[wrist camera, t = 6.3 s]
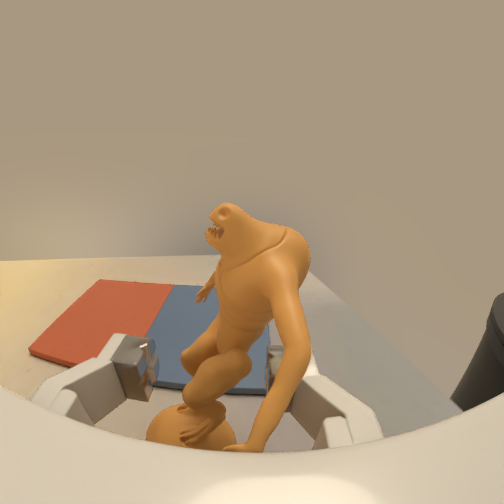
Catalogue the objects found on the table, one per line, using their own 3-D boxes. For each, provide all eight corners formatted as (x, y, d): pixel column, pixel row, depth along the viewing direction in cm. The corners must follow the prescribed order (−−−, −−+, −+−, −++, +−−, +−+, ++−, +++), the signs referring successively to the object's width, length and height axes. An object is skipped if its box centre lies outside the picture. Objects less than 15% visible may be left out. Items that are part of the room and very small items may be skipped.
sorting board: (264, 293, 28) (265, 287, 28) (273, 394, 15) (274, 388, 15) (100, 283, 28) (99, 279, 28) (30, 354, 15) (27, 348, 15)
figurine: (156, 406, 13) (118, 192, 10) (255, 397, 15) (266, 187, 11) (163, 533, 6) (-21, 275, 2) (302, 515, 7) (429, 252, 3)
